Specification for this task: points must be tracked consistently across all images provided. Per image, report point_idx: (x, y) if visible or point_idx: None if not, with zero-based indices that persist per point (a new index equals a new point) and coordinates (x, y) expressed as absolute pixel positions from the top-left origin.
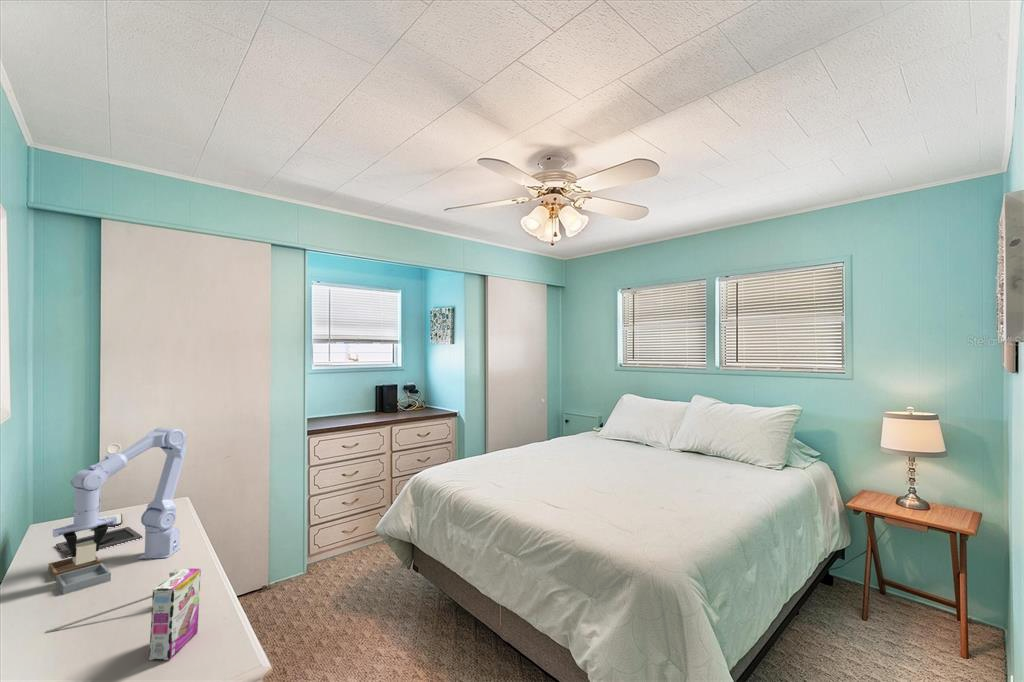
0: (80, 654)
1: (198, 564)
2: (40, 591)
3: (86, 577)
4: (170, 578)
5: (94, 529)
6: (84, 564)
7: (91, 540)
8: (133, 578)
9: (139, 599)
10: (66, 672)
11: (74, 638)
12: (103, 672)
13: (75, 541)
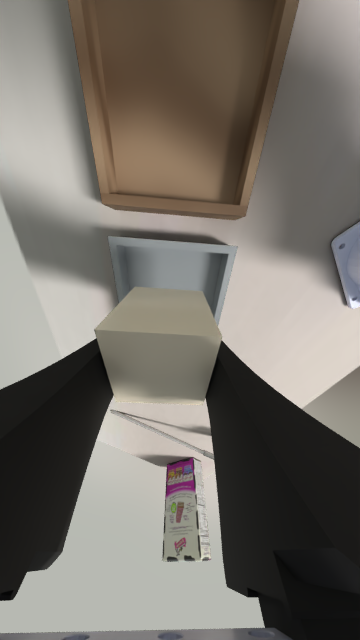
0: (136, 444)
1: (320, 379)
2: (87, 266)
3: (180, 284)
4: (181, 561)
5: (278, 498)
6: (221, 95)
7: (213, 338)
8: (236, 354)
9: (189, 447)
10: (126, 452)
11: (134, 429)
12: (144, 459)
13: (82, 465)
